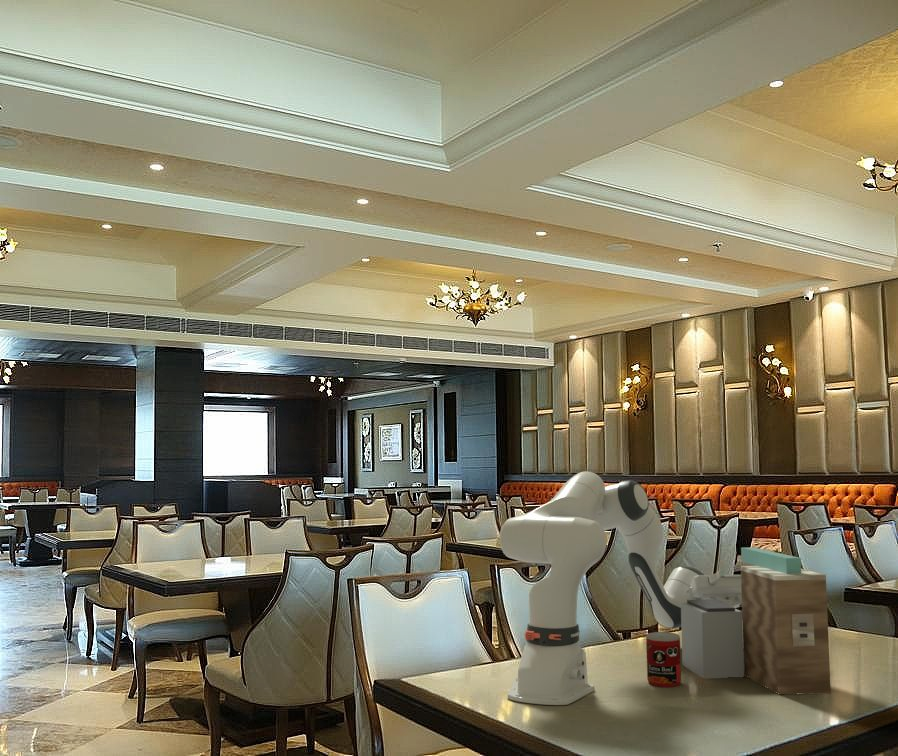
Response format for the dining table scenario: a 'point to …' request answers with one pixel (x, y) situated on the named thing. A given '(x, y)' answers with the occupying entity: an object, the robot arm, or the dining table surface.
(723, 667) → the phone dock
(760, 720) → the dining table surface
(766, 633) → the stand
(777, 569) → the long teal bar
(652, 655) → the canned food
